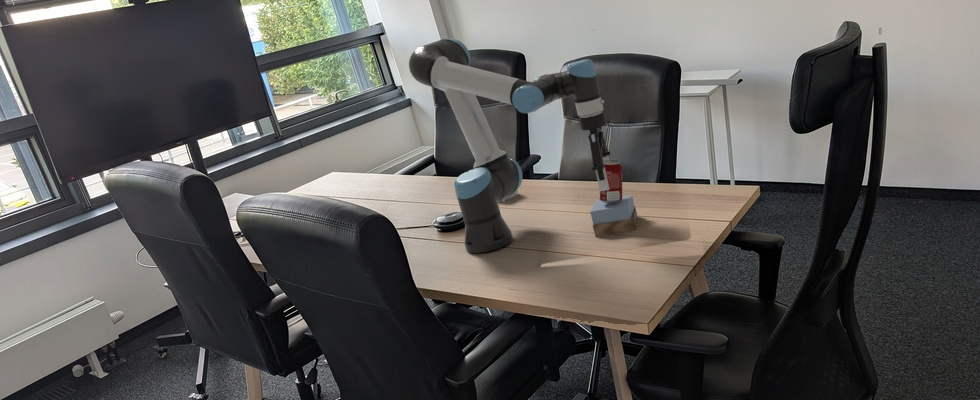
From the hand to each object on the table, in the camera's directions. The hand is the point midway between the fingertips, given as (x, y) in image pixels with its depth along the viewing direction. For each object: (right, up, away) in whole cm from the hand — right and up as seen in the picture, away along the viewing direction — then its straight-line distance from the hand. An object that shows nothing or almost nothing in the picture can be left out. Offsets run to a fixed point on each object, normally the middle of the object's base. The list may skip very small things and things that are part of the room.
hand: (606, 183), depth 220 cm
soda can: (+1, -5, +1) cm, 6 cm away
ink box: (-28, -7, +60) cm, 66 cm away
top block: (+3, -9, +2) cm, 10 cm away
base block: (+4, -13, +3) cm, 14 cm away
